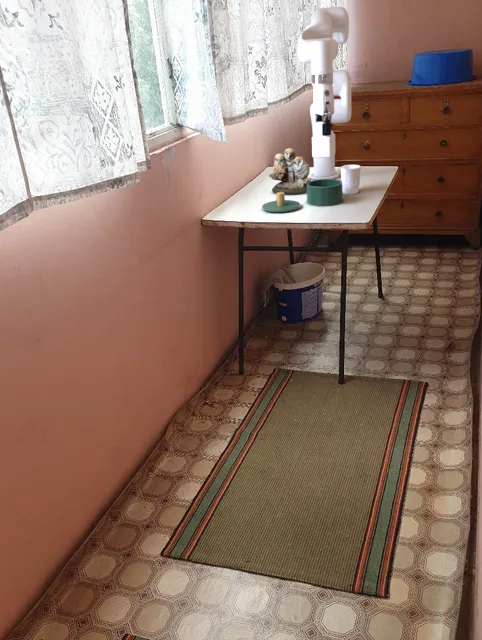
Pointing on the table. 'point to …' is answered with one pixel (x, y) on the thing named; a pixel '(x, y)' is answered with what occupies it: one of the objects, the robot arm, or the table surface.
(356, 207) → the table surface
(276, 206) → the lid
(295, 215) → the table surface
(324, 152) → the medicine bottle
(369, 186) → the table surface
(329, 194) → the tin
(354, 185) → the white cup
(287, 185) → the owl figurine
